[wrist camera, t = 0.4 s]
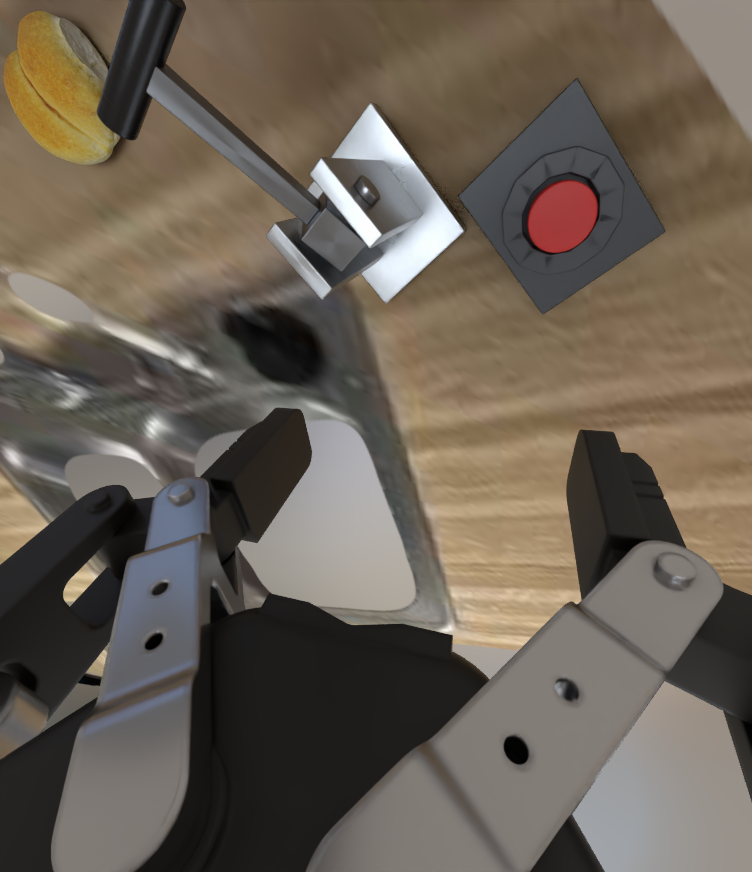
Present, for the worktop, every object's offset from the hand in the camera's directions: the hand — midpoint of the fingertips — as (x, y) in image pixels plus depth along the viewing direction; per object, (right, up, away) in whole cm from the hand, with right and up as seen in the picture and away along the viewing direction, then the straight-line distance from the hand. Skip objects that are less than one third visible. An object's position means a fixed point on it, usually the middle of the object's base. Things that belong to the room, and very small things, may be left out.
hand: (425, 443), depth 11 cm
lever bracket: (-1, +17, +18) cm, 25 cm away
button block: (+11, +16, +15) cm, 24 cm away
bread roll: (-25, +27, +20) cm, 42 cm away
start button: (+10, +14, +12) cm, 20 cm away
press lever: (-7, +14, +8) cm, 18 cm away
